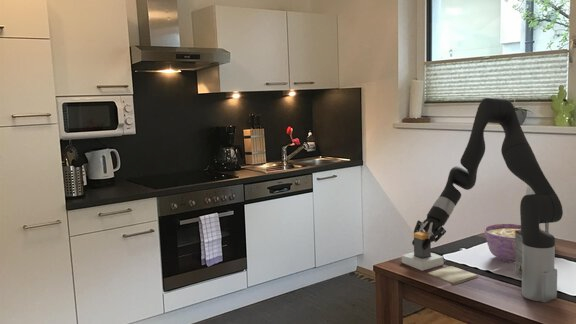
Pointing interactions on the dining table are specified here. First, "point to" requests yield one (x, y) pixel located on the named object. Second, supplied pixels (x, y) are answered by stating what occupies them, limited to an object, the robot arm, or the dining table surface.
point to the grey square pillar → (418, 241)
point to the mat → (453, 275)
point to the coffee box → (519, 252)
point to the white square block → (422, 261)
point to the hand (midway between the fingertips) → (418, 246)
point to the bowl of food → (502, 240)
